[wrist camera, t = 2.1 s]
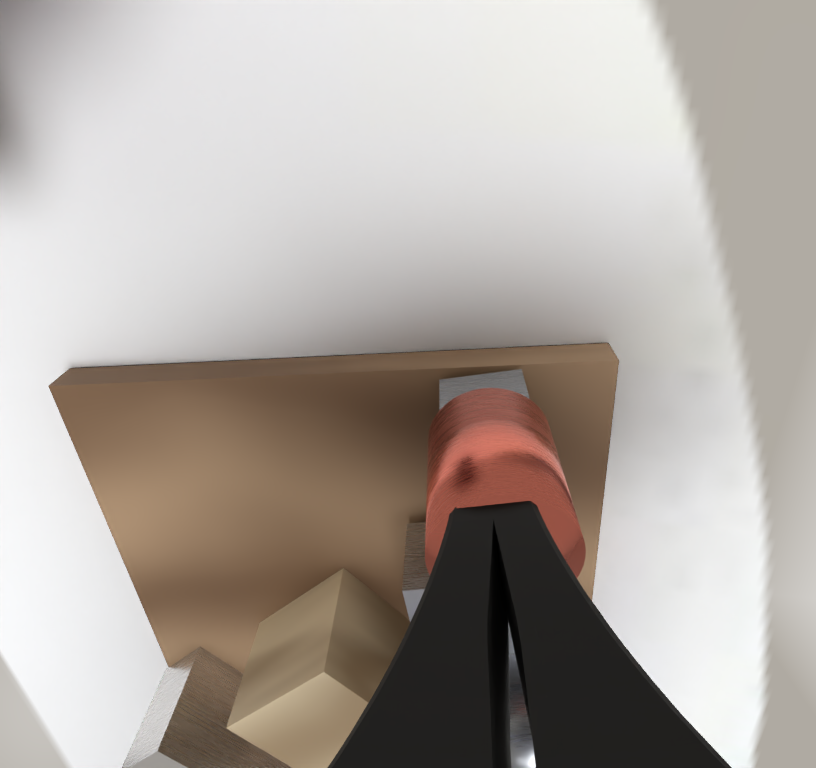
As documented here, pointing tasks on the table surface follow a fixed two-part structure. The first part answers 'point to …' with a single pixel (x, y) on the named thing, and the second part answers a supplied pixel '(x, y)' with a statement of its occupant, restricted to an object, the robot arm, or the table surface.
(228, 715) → the brown grey rectangular block
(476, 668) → the robot arm
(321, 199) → the table surface
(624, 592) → the table surface
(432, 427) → the lever
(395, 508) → the board
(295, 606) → the tan cube
